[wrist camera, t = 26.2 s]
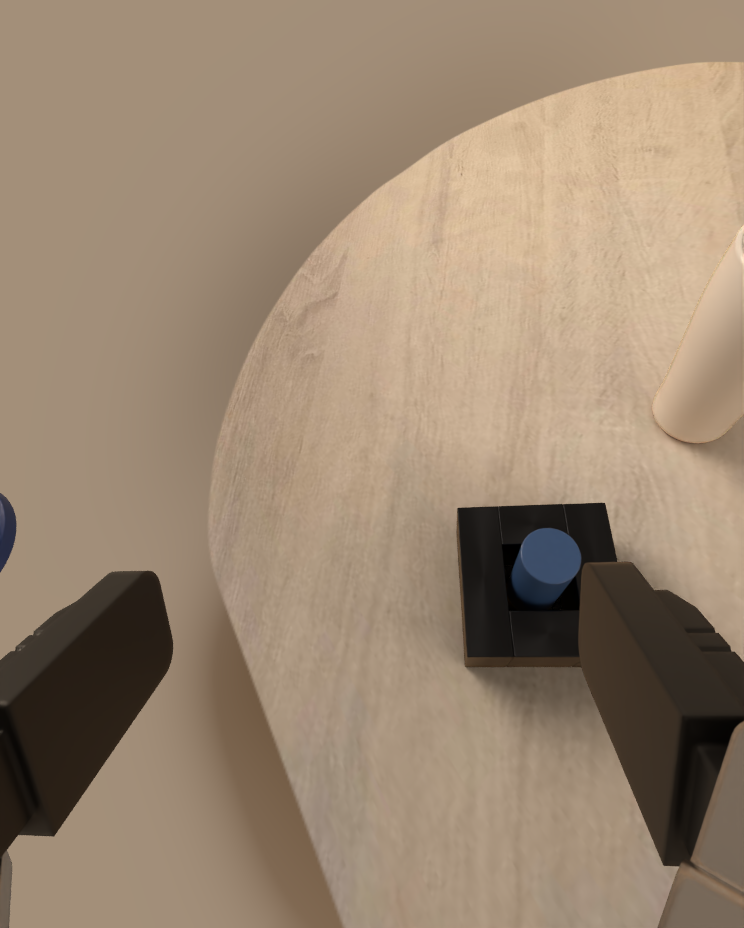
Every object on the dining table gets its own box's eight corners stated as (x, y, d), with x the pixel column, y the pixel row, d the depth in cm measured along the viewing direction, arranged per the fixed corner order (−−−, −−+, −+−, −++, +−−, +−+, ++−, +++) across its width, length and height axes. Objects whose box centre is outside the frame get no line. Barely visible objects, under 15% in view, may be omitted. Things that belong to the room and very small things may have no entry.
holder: (464, 666, 33) (467, 657, 29) (456, 532, 37) (457, 507, 33) (614, 667, 31) (637, 657, 28) (588, 528, 36) (605, 502, 32)
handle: (495, 601, 34) (508, 563, 27) (518, 562, 35) (537, 515, 28) (539, 628, 33) (565, 597, 26) (561, 588, 34) (593, 546, 27)
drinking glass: (629, 382, 40) (716, 211, 27) (722, 374, 40) (857, 194, 27) (652, 459, 37) (763, 307, 24) (753, 451, 37) (925, 291, 23)
